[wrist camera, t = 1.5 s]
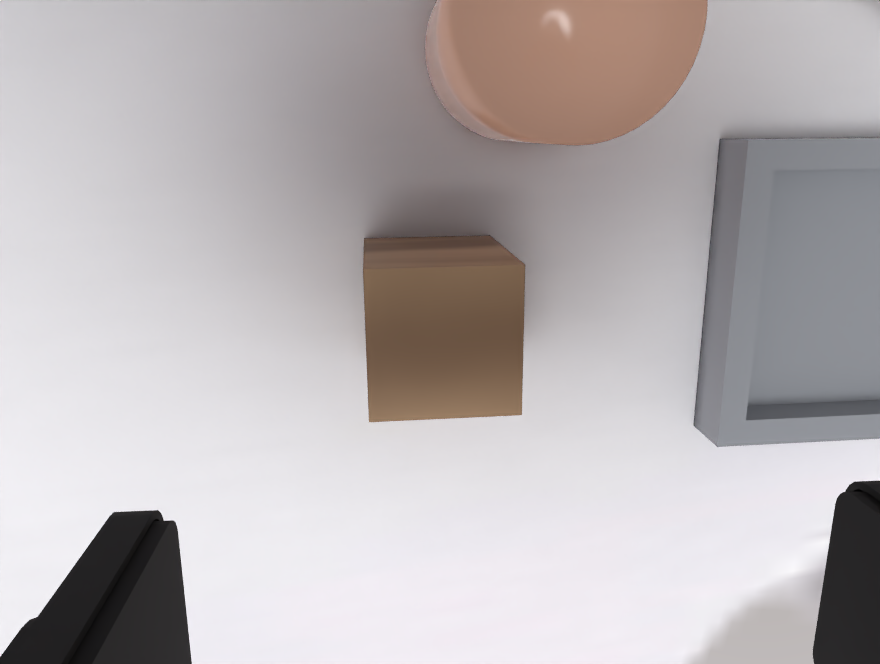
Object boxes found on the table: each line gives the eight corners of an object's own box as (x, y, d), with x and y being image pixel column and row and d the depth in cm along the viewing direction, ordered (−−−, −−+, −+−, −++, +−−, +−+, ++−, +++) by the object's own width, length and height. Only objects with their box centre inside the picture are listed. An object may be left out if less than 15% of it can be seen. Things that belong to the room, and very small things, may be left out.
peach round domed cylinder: (423, -51, 23) (451, -142, 15) (605, -49, 24) (719, -136, 16) (426, 142, 25) (452, 146, 17) (596, 140, 25) (696, 143, 18)
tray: (720, 139, 26) (748, 139, 24) (1005, 135, 27) (1054, 136, 25) (693, 425, 29) (717, 446, 27) (951, 413, 30) (991, 432, 28)
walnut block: (364, 238, 25) (363, 269, 20) (489, 235, 26) (524, 264, 20) (368, 359, 27) (369, 422, 21) (488, 354, 27) (521, 415, 21)
